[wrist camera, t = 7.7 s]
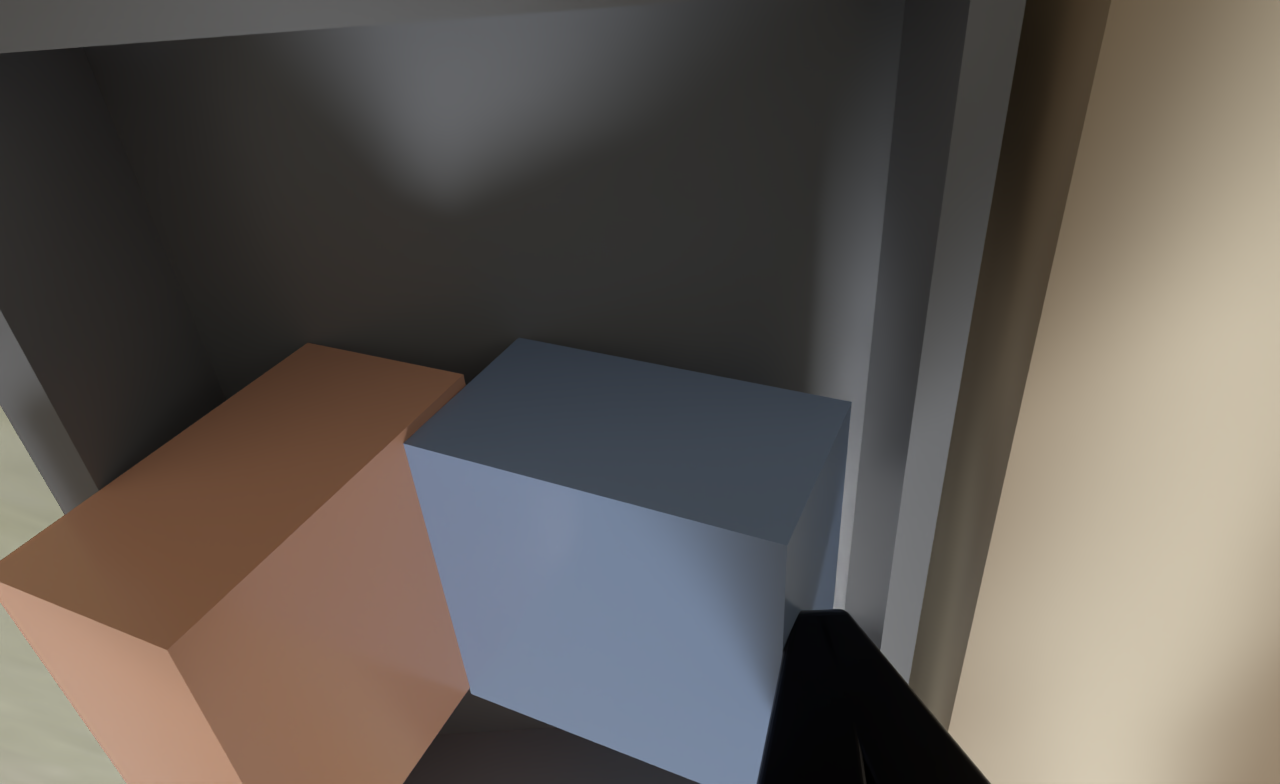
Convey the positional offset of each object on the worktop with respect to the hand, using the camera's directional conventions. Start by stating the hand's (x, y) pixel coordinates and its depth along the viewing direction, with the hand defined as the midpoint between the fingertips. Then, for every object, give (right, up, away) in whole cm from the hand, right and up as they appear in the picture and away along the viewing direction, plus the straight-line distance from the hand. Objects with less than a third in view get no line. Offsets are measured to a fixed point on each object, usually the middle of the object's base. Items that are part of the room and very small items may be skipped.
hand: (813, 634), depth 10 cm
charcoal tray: (-3, +2, +3) cm, 5 cm away
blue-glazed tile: (-1, +1, +2) cm, 3 cm away
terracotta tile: (-5, 0, 0) cm, 5 cm away
